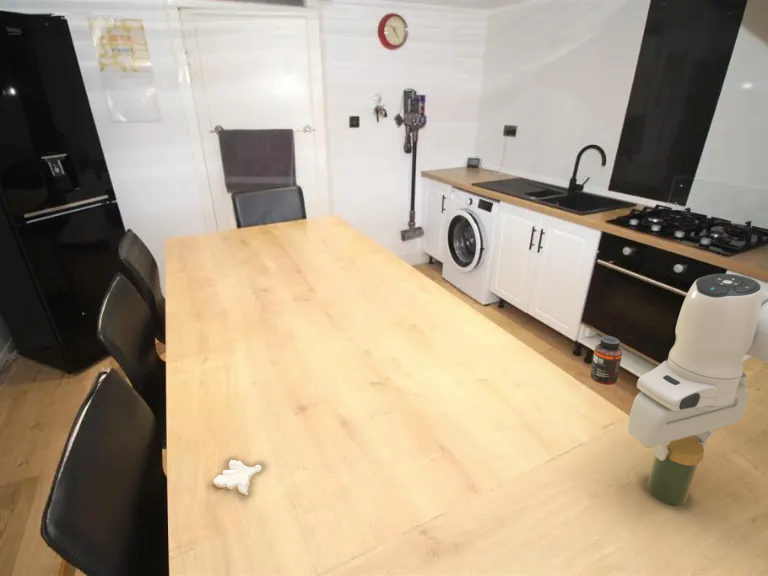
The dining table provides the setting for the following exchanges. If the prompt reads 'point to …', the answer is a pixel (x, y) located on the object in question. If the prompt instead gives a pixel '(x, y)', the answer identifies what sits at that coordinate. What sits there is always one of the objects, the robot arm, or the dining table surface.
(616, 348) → the supplement bottle
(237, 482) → the acanthus leaf ornament
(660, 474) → the sauce jar
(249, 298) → the dining table surface
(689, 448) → the lid
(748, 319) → the robot arm
